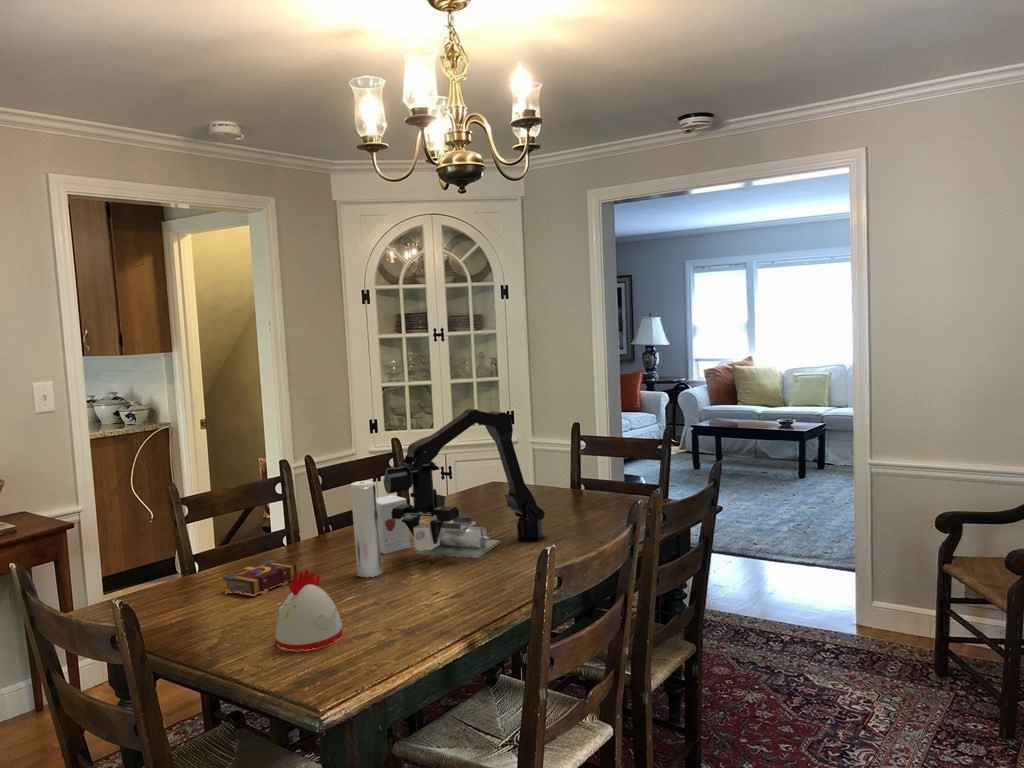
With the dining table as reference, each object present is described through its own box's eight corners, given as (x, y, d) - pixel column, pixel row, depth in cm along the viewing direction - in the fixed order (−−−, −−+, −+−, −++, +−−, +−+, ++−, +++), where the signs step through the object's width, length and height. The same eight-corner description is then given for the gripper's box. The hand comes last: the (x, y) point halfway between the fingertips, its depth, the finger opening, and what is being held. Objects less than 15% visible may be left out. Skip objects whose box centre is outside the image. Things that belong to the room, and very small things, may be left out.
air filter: (377, 578, 205) (369, 484, 203) (353, 578, 206) (346, 485, 204) (385, 570, 211) (378, 479, 209) (363, 570, 212) (355, 479, 210)
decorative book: (298, 580, 208) (297, 562, 208) (249, 601, 195) (247, 581, 194) (269, 575, 214) (268, 557, 214) (220, 595, 201) (218, 576, 200)
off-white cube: (439, 544, 218) (438, 523, 218) (427, 552, 212) (425, 530, 211) (424, 543, 220) (422, 522, 220) (411, 551, 214) (409, 529, 213)
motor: (500, 543, 229) (498, 515, 228) (479, 558, 216) (477, 528, 216) (440, 540, 237) (438, 512, 237) (416, 553, 225) (414, 524, 224)
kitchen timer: (262, 645, 166) (256, 576, 164) (312, 622, 177) (306, 557, 176) (307, 657, 158) (300, 585, 157) (356, 632, 169) (350, 564, 168)
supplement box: (384, 555, 226) (380, 504, 224) (369, 549, 232) (365, 500, 231) (411, 547, 231) (407, 498, 230) (395, 542, 238) (391, 494, 237)
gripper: (466, 482, 219) (470, 536, 220) (409, 480, 227) (413, 533, 228) (447, 491, 209) (451, 548, 210) (388, 489, 216) (392, 544, 218)
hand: (427, 543), depth 217 cm, fingers closed on off-white cube, 5 cm apart
